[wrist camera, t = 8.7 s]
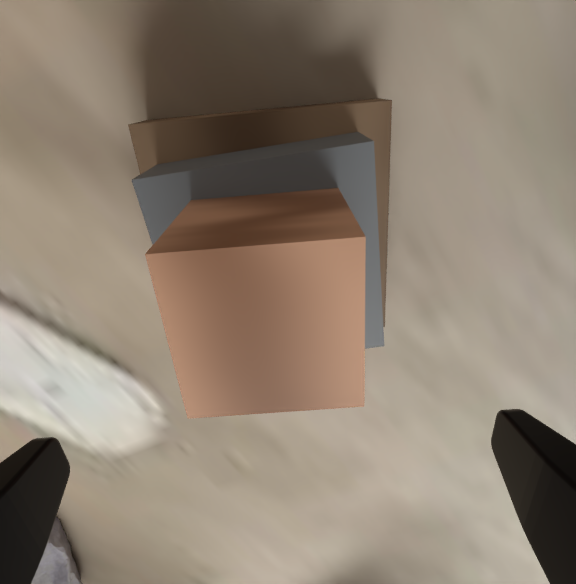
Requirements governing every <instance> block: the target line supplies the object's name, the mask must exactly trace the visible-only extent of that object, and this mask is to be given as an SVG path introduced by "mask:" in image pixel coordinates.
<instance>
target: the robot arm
mask: <svg viewBox="0 0 576 584" xmlns="http://www.w3.org/2000/svg"><path fill="white" fill-rule="evenodd" d="M491 445H492V450H493V453H494V455H495V458H496V461H497V463H498V466H499V468H500V471H501V474H502V476H503V479H504V482H505V484H506V487H507V489H508V492H509V495H510V497H511V500H512V502H513V505H514V508H515V510H516V513H517V516H518V518H519V520H520V523H521V525H522V528H523V530H524V532H525V534H526V536H527V538H528V540H529V543H530V545H531V547H532V549H533V551H534V553H535V555H536V557H537V559H538V561H539V563H540V565H541V567H542V569H543V571H544V573H545V575H546V577H547V579H548V581H549V583H550V584H576V444H574V443H573V442H571V441H570V440H568V439H567V438H565V437H563V436H562V435H560V434H559V433H557V432H556V431H554V430H553V429H551V428H550V427H548V426H546V425H545V424H543V423H542V422H540V421H539V420H537V419H536V418H534V417H533V416H531V415H529V414H528V413H526V412H525V411H523V410H520V409H510V410H501V411H499V412H498V413H497V416H496V420H495V425H494V429H493V434H492V438H491ZM69 474H70V465H69V462H68V460H67V458H66V455H65V453H64V451H63V449H62V447H61V445H60V443H59V441H58V440H57V439H56V438H53V437H48V438H36V439H33V440H31V441H30V442H28V443H27V444H26V445H24V446H23V447H22V448H20V449H19V450H18V451H16V452H15V453H13V454H12V455H11V456H9V457H8V458H7V459H5V460H4V461H2V462H1V463H0V584H31V583H32V580H33V578H34V576H35V573H36V571H37V569H38V566H39V564H40V561H41V559H42V556H43V554H44V551H45V548H46V546H47V543H48V540H49V537H50V534H51V531H52V528H53V524H54V521H55V518H56V515H57V512H58V509H59V506H60V503H61V500H62V497H63V494H64V490H65V487H66V484H67V481H68V478H69Z"/></svg>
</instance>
